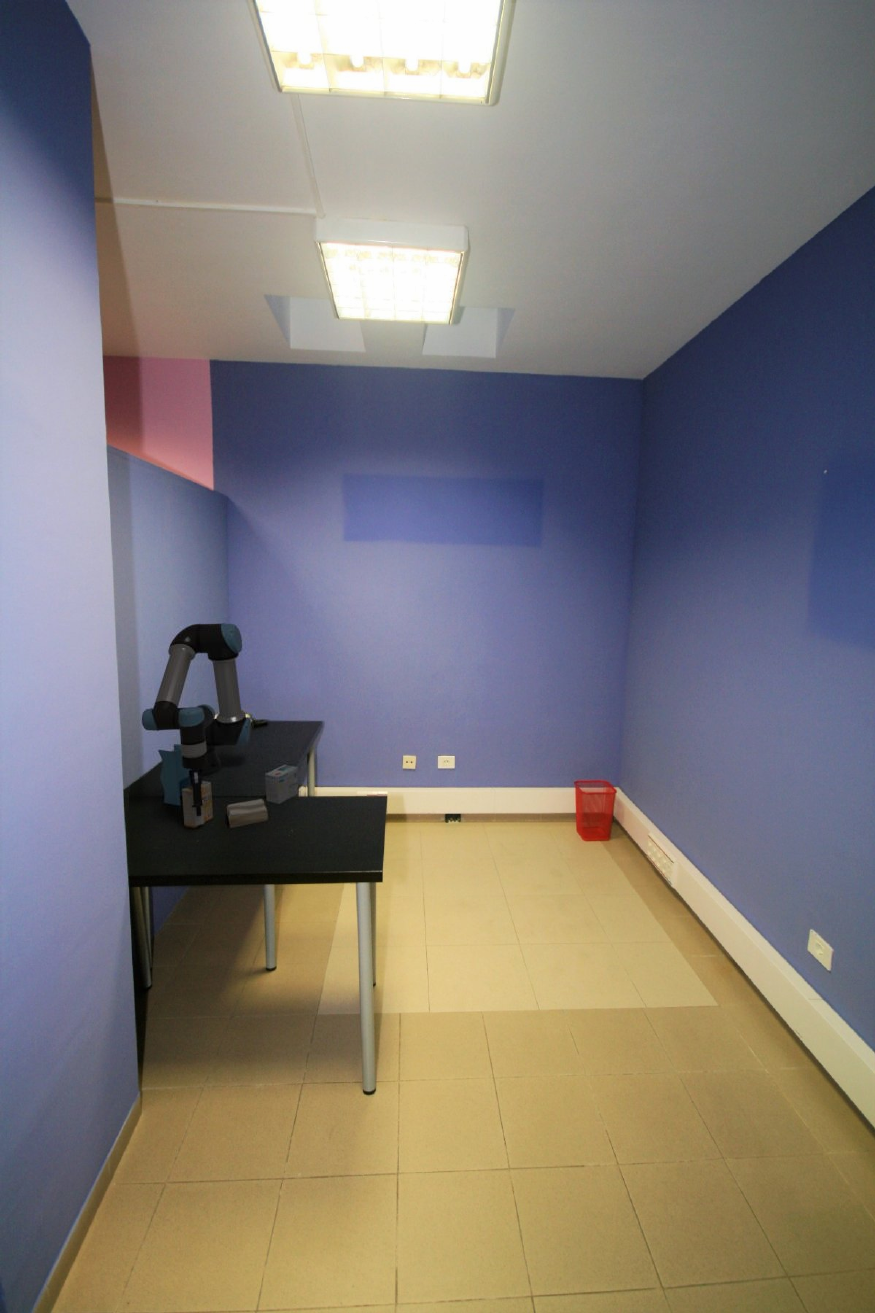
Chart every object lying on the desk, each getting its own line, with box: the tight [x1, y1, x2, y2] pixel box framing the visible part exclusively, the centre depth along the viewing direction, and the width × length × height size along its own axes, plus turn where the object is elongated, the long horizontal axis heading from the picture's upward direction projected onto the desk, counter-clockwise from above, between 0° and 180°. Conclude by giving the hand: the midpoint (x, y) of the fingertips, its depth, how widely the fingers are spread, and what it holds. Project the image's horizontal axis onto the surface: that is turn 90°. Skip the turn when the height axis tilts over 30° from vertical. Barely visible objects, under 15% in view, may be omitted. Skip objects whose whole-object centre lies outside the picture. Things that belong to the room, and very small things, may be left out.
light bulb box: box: [264, 764, 299, 805], centre depth 195 cm, size 11×7×11 cm, turn 154°
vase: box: [157, 743, 191, 806], centre depth 192 cm, size 8×8×20 cm
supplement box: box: [181, 780, 214, 829], centre depth 175 cm, size 8×5×13 cm, turn 160°
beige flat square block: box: [226, 798, 269, 828], centre depth 179 cm, size 10×12×4 cm
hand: (199, 818), depth 176 cm, fingers closed on supplement box, 9 cm apart
